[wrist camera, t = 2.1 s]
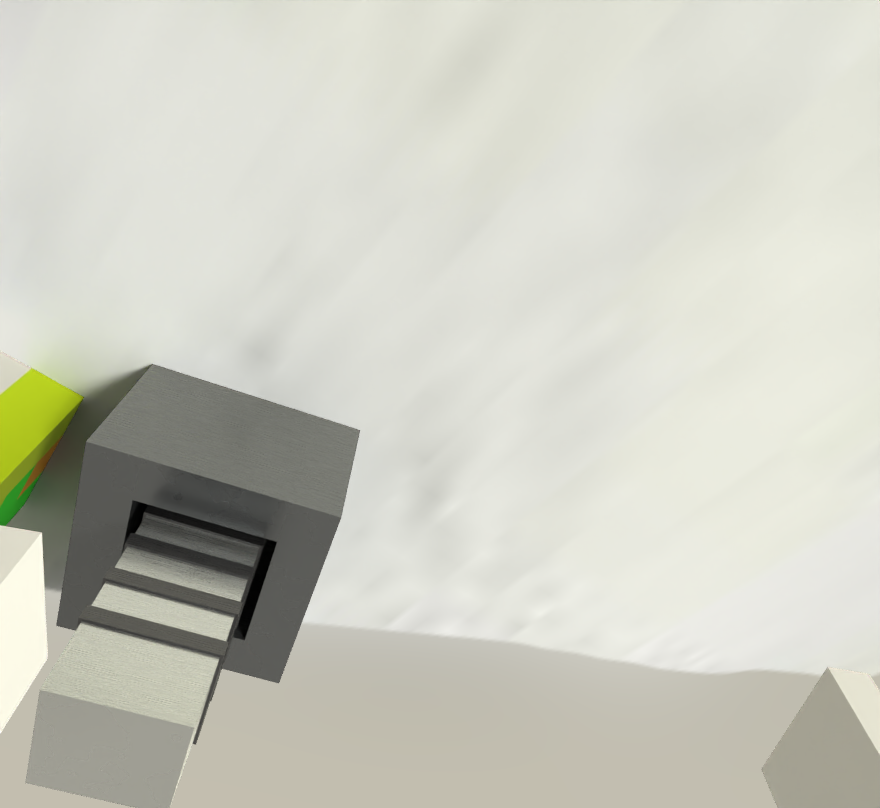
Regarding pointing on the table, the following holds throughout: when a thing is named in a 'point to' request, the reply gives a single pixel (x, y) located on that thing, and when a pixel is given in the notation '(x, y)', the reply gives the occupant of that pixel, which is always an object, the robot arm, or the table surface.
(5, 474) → the puzzle toy
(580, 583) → the table surface
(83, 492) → the housing
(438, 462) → the table surface
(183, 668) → the column
